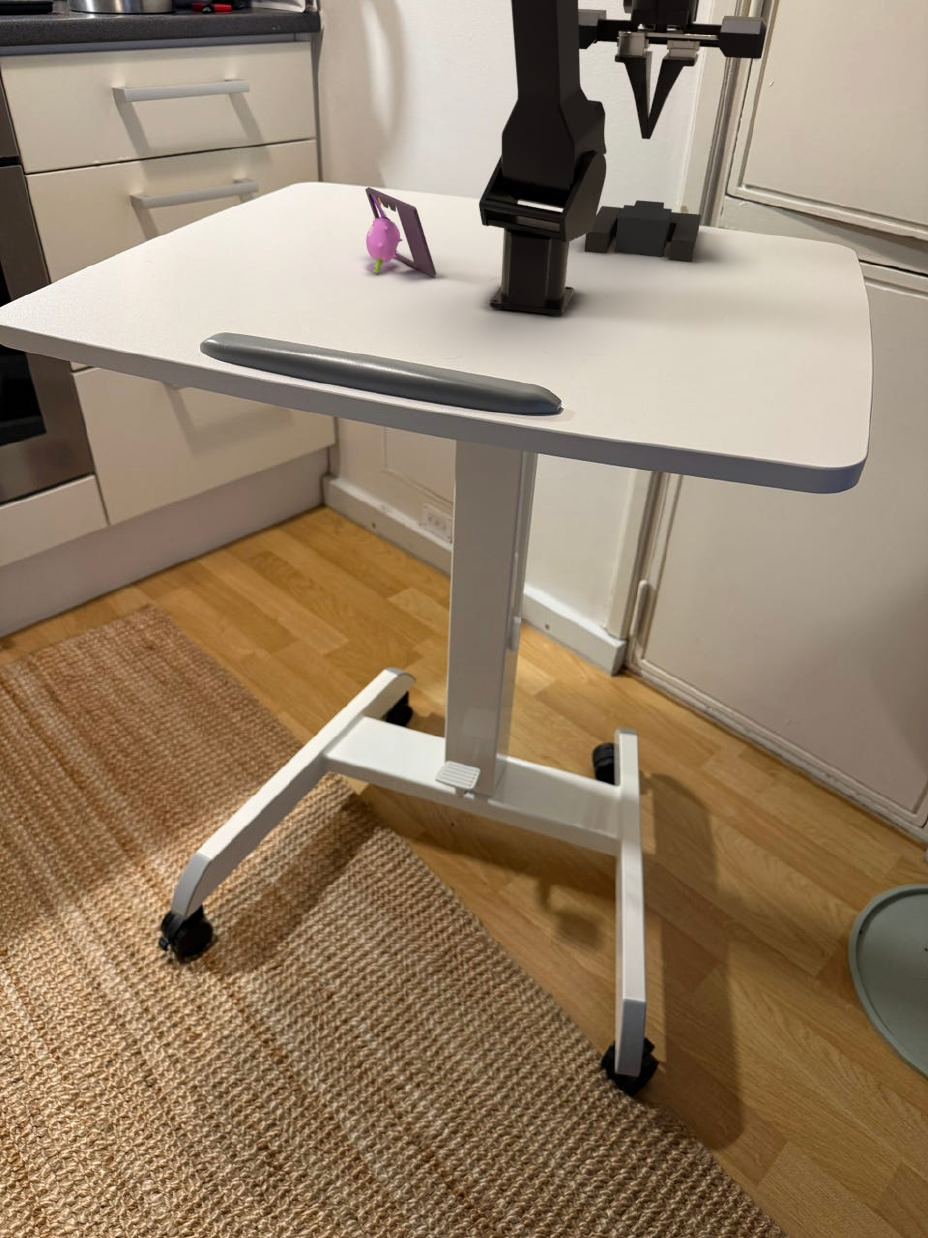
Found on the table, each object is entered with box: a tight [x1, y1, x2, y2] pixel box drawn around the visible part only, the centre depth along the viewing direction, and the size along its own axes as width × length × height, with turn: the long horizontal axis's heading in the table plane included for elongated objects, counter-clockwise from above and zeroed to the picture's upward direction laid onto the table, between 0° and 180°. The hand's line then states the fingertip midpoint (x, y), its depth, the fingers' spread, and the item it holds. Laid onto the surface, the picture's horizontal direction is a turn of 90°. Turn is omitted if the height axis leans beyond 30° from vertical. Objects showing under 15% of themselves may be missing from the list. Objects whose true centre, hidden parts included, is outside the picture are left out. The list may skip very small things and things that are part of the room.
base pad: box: [583, 205, 702, 262], centre depth 96 cm, size 11×11×2 cm
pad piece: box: [614, 199, 673, 257], centre depth 95 cm, size 8×5×4 cm, turn 165°
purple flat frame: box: [365, 186, 437, 278], centre depth 86 cm, size 7×5×9 cm
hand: (646, 138), depth 88 cm, fingers closed
